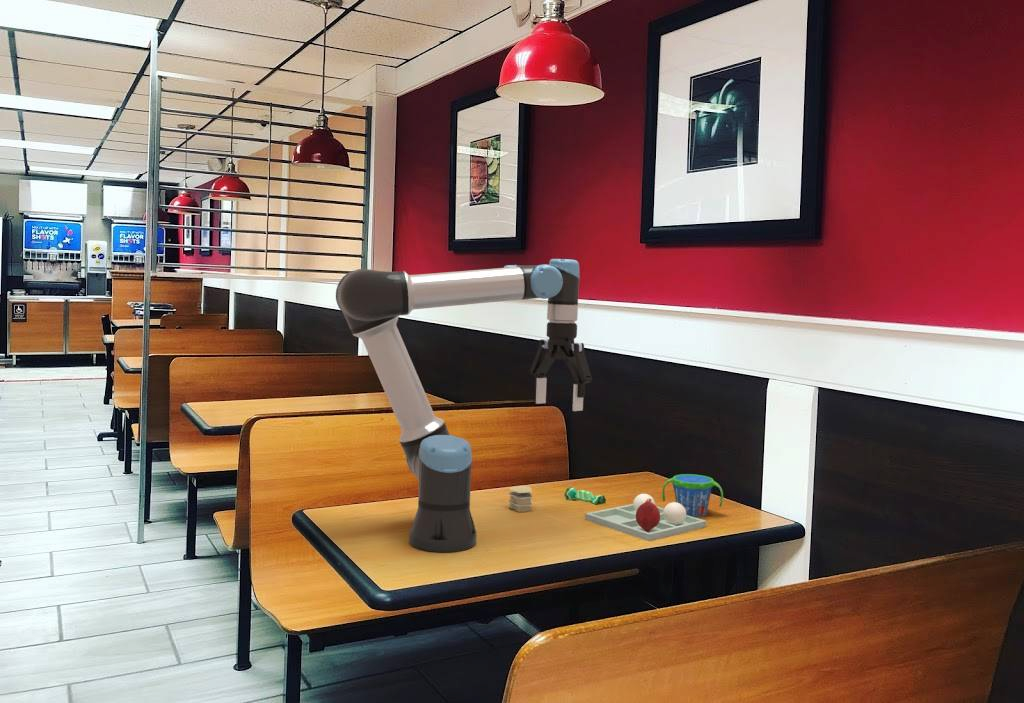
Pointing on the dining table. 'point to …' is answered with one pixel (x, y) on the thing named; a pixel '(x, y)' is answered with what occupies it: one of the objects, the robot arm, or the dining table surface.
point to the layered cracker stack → (520, 498)
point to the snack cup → (693, 493)
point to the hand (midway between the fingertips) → (558, 407)
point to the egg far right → (674, 513)
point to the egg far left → (641, 500)
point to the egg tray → (627, 523)
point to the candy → (583, 496)
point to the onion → (648, 515)
